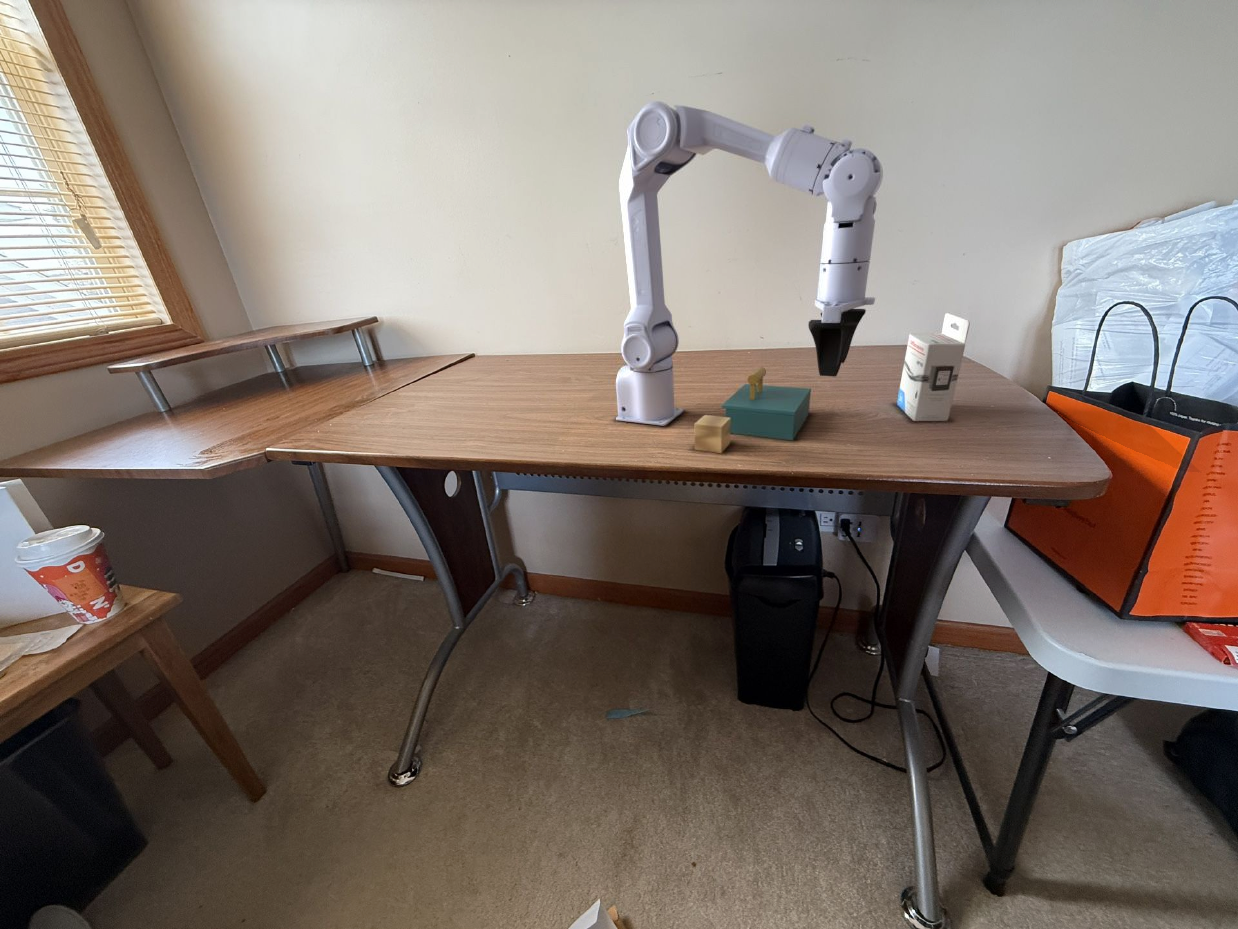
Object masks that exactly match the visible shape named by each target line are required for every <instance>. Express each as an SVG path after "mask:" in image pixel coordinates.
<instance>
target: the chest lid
mask: <svg viewBox="0 0 1238 929" xmlns="http://www.w3.org/2000/svg"><path fill="white" fill-rule="evenodd" d="M766 375H767V369H766V368H765V367H763V366H760V367H757V368H756V369H755V370H754V371H753V372H752V373H751V374H750V375H748V377H747V382H748V383H744V384H743V385H742V386H741V387H740V388H738V390H737V391H736V392H734V393H733V394H732V395H731V396H730V397H729V398H728V399H727V400H726V401H724V402H723V403H722V404H721V409H722V410H726V409H732V410H743V411H753V412H763V413H774V414H784V415H795V414H796V413H797V411H798V410H799V408H800V407H801V405H802V404H803V402H804V401H805V400H806V398H807V397H808V395H809V394H810V393H811V392H812V389H811V388H808V387H793V386H780V385H764V377H765V376H766ZM810 395H811V394H810Z"/></svg>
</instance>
